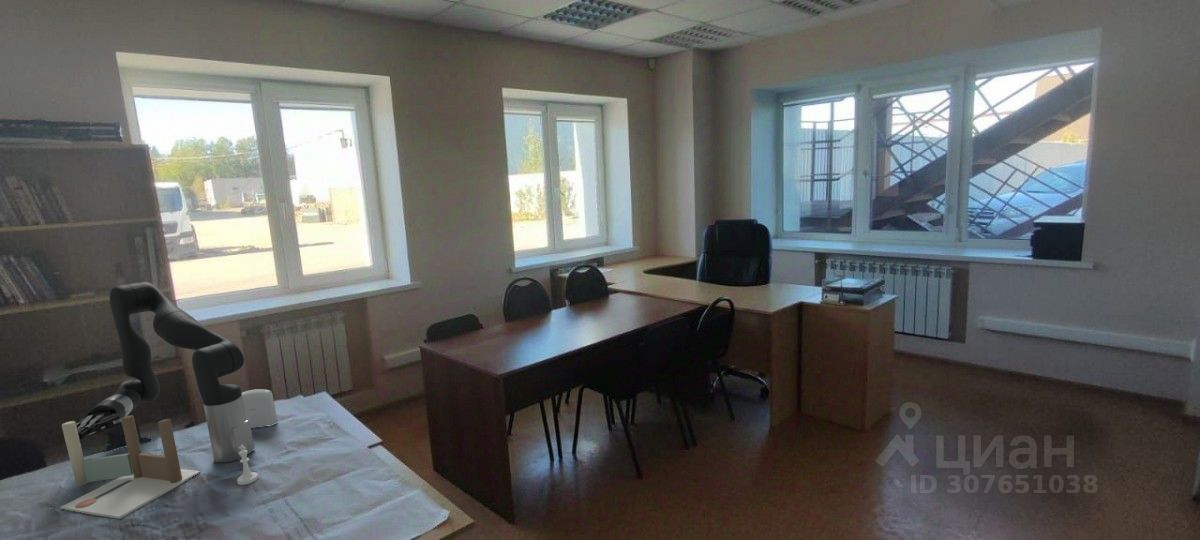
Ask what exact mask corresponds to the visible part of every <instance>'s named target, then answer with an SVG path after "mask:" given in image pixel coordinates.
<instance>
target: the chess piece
mask: <svg viewBox="0 0 1200 540" xmlns="http://www.w3.org/2000/svg"><path fill="white" fill-rule="evenodd" d="M239 449H241V451H240V452H239V455H240V456H241V458H242V459H240V460H239V462H240V463H241V464H242V475H240V476H239V477H238V478H237V480H236V482H237V483H236V484H237V485H238V486H239V485H241V486H242V485H249V484H251V483H254V482H255V481H257V480H258V479H259V477H260V476H259V474H258V472H254V471H251V469H250V466H249V463H248V462H249V461H250V457H247V456H248V455H247V453H248V451H247V450H244V449H246V447H244V446H243V445H241V447H239Z"/></svg>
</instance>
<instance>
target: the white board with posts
mask: <svg viewBox="0 0 1200 540" xmlns="http://www.w3.org/2000/svg"><path fill="white" fill-rule="evenodd" d="M171 421H172V420H171V418H164V419H161V420H159V421H158V422H157V425H158V430H159V434H160V439H161V444H162V448H163V452H164V455H162V454H155V453H154V454H153V453H146V452H142V450H141V448H142V447H141V443H140V439H139V435H138V430H137V426H136V425H137V424H136V421H135V417H134V415H131V414H130V415H129V414H128V415H127V416H125V417H123V418H121V423H122V424H121V425H122V429H123V433H124V439H125V444H126V447H127V452H128V453H129V457H130V462H131V466H132V471H133V475H130V476H124V477H118V478H114V480H112V481H110V482H108V483H105V484H103V485H101V486H100V487H98V488H96V489H93V490H90V492H87V493H86V494H83V495H82V496H79V497H77V498H76V499H73V500H72V501H69V502H68V503H66V504H64V505H61V506H60V510H62V509H65V510H64V511H68V510H69V512H74V511H75V513H80V512H81V513H82V514H88V515H93V516H98V517H105V518H112V519H116V520H120V519H122V518H125V517H126V516H128V515H130V514H131V513H133V512H134V511H136V510H138V509H140V508H143V506H145V505H147V504H149V503H151V502H153V501H154V500H155V499H158V498H160V497H161V496H163V495H165V494H166V493H168V492H170V491H172V490H174V489H175V488H177V487H179V486H180V485H182V484H183V483H186V482H188V481H189V480H191V479H193V478H194V477H196V476H198V475H199V474H198V473H200V474H201V471H200V470H192V469H185V468H181V465H180V460H179V456H178V451H177V444H176V441H175V436H174V431H173V427H172V426H173V425H172V422H171ZM197 474H198V475H197ZM195 475H196V476H195ZM193 476H194V477H193ZM192 477H193V478H192ZM190 478H191V479H190ZM188 479H189V480H188ZM185 481H186V482H185Z"/></svg>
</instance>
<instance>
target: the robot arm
mask: <svg viewBox="0 0 1200 540" xmlns="http://www.w3.org/2000/svg"><path fill="white" fill-rule="evenodd" d="M109 304H110V310H111V314H112V318H113V321H114V325H115V328H116V333H117V336H118V339H119V343H120V348H121V355H122V356H121V358H122V359H121V360H122V369H123V374H124V375H126V376H127V377H131V378H135V379H127V380H124V381H122V382H120V384H119V386H118V388H117V390H116V392H115V393H114V394H113V395H111V396H109V397H107V398H105V399H104V400H102V401H100V402H99V403H98V404H96V405H95V406H94V407H92V408H91V409H90V410H89V411H88V413H87V415H86V417H84V418H81V419H80V420H79V422H77V423H76V422H75V423H76V427H77V432H78V436H79V440H80V441H82V440H83V439H84V438H86V437H87V436H91V435H93V434H94V433H96V434H99V433H102V432H104V431H107V430H110V429H113V428H115V427H119V426H120V425H122V421H121V418H123V417H125V416H129V414H130V413H132V411H134V410H136V408H137V407H138V406H139V405H140V403H149V402H151V403H152V402H154V401H155V400H157V398H158V397H159V395H160V393H161V386H160V385H161V384H160V382H159V380H158V378H157V376H156V374H155V371H154V369H153V364H152V352H151V347H150V345H149V343H148V342H147V339H145V338H144V337H143V336H142V335H141V334H140V333H139V332H137V330H136V329H135V328H134V327H133V325H132V322H131V319H130V317H131V315H135V314H140V313H145V312H152V313H154V317H153V321H152V328H153V331H154V333H156V334H157V336H159V338H161V339H162V340H164V341H165V342H166V343H168V344H169V345H171V346H174V347H176V348H181V349H186V350H192V351H194V352H193V354H192V357H191V363H192V368H193V372H194V376H195V380H196V384H197V388H198V392H199V395H200V397H201V399H202V404H203V409H204V414H205V420H206V425H207V430H208V435H209V440H210V445H211V446H210V447H211V451H212V452H211V453H212V456H213V461H214V462H216V463H219V464H220V463H229V462H233V461H240V460H241V459H242V458H241V456H240V455H239V452H240V451H241V449H239V447H241V445H243V446H244V447H246V449H244V450H247V451H248V453H249V452H251V451H252V450H253V449H255V444H254V438H253V433H252V429H251V426H250V421H249V420H246V416H245V410H244V405H243V399H242V393H243V392H242V389H241V386H240V385H238V384H234V383H233V384H232V383H226V384H221V383H220V381H219V378H221V377H224V376H227V375H230V374H232V373H235V372H237V371H238V370H241V368H242V367H243V365H244V364H245V357H244V355H243V352H242V351H241V349H240V348H239V346H238V345H236V344H235V343H233V342H232V341H231V340H229V339H227V338H225V337H224V336H222V335H220V334H218V333H216V332H214V331H213V330H212V329H209V328H208V327H206V326H205V325H204V324H202V323H200V322H199V321H198V320H196V319H195V318H194V317H193V316H191V315H190V314H189V313H187V312H186V311H184V310H183V309H181V308H180V307H178V305H176V304H175V303H173V302H172V301H171V300H170V299H169V298H168V297H167V296H166V295H165V294H164V293H163V292H162V291H161V290H160V289H158V287H157V286H155V285H154V284H153V283H151V282H147V281H145V282H144V281H143V282H141V281H139V282H134V283H128V284H127V283H126V284H121V285H117V286H114V287H113V288H111V289H110V292H109ZM252 452H253V451H252ZM252 452H251V453H252ZM248 453H247V454H248ZM249 454H250V453H249ZM249 454H248V455H249Z"/></svg>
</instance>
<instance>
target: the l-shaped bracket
mask: <svg viewBox="0 0 1200 540" xmlns="http://www.w3.org/2000/svg"><path fill="white" fill-rule="evenodd" d="M61 429H62V433H63V436H64V440H65V445H66V448H67V452H68V453H67V455H68V458H69V461H70V464H71V470H72V473H73V478H74V483H75V485H76V486H82V485H85V484H88V483H92V482H98V481H106V480H109V479H117V478H119V477H124V476H130V475H133V471H132V466H131V462H130V457H129V453H121V454H115V455H114V454H113V455H107V456H100V457H94V458H88V459H85V458H84V453H83V449H82V445H81V440H79V436H78V432H77V427H76V421H75V420H72V421H66V422H64V423H62V424H61Z"/></svg>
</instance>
